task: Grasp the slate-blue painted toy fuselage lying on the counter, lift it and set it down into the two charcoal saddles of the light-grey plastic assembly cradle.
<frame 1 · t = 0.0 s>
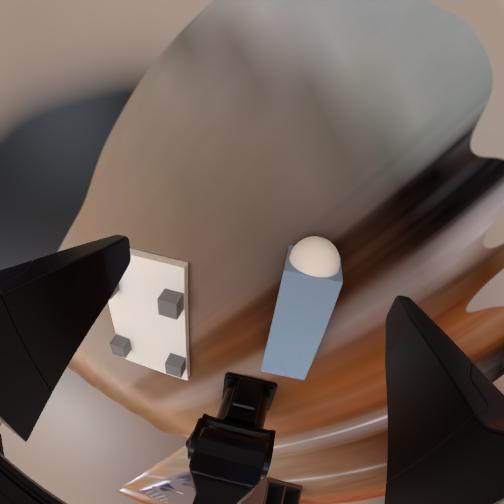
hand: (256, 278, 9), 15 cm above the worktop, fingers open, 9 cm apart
fuselage: (299, 304, 28), on the worktop
letter holder: (265, 486, 60), on the worktop
cradle: (149, 317, 33), on the worktop
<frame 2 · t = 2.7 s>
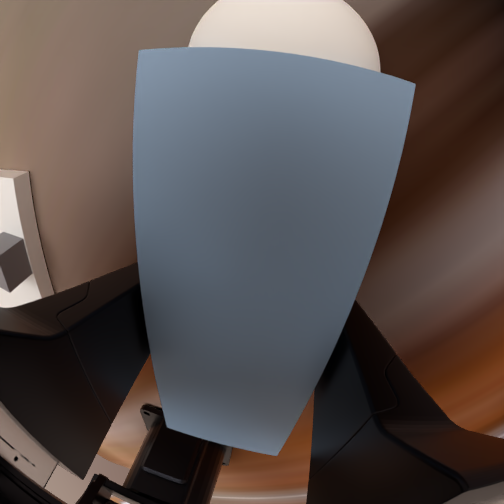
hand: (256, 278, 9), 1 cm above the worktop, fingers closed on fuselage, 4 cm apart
fuselage: (262, 260, 10), on the worktop, touching gripper
cradle: (16, 296, 15), on the worktop
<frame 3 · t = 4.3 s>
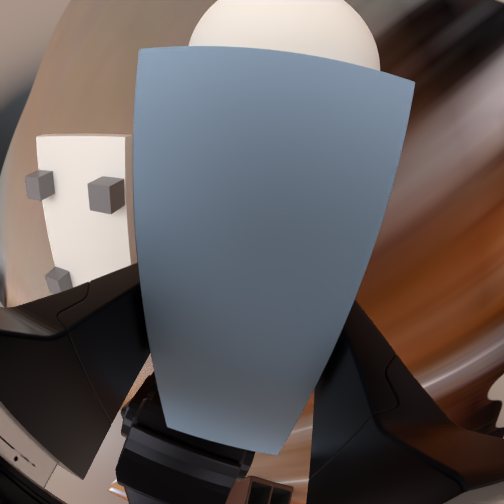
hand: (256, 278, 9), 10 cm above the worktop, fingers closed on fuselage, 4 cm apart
fuselage: (262, 260, 10), point 9 cm above the worktop, touching gripper
letter holder: (250, 486, 50), on the worktop
cradle: (90, 235, 24), on the worktop
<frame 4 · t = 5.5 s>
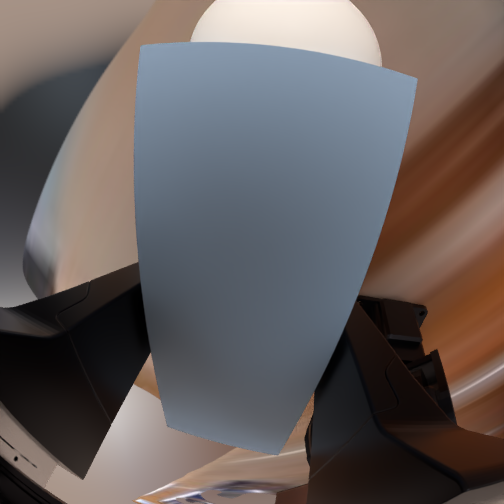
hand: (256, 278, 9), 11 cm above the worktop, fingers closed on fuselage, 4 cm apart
fuselage: (263, 258, 10), point 10 cm above the worktop, touching gripper
letter holder: (320, 487, 46), on the worktop
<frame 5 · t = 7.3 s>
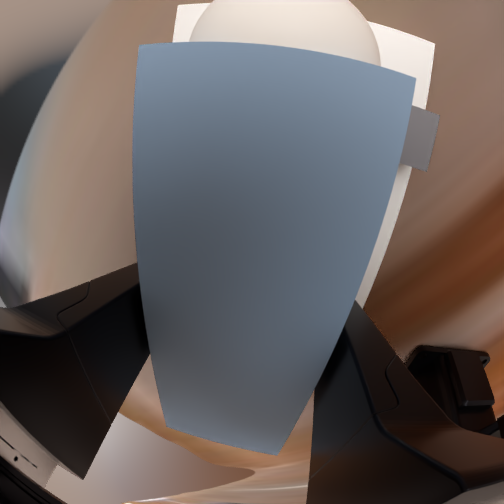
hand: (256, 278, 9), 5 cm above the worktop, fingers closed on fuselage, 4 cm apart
fuselage: (262, 258, 10), point 4 cm above the worktop, touching gripper
cradle: (275, 216, 13), on the worktop
when the fingers open (3 cm above the worktop, at t = 8.6 s): fuselage stays where it is, resting on cradle.
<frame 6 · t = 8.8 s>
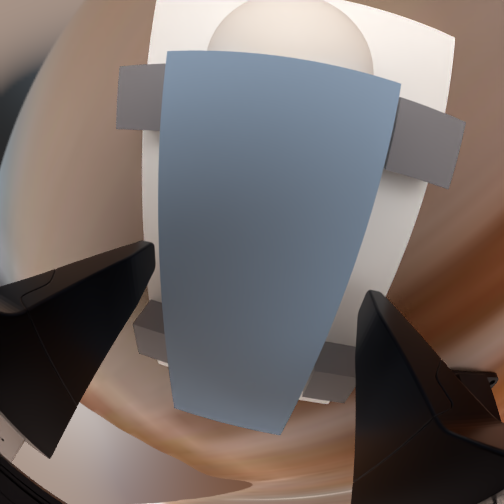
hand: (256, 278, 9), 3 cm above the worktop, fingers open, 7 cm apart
fuselage: (266, 245, 11), point 1 cm above the worktop, touching cradle
cradle: (269, 235, 12), on the worktop
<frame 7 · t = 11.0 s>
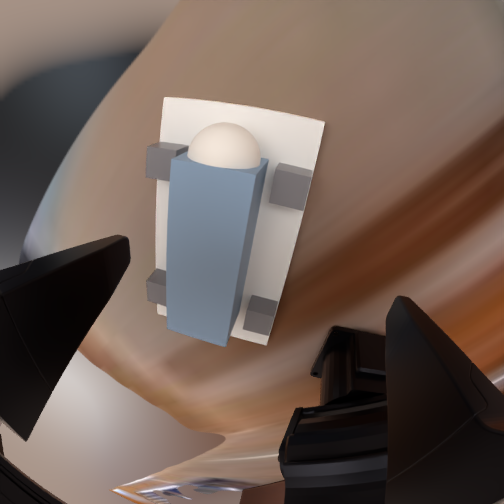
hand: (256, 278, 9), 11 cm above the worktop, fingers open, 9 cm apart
fuselage: (220, 237, 21), point 1 cm above the worktop, touching cradle
letter holder: (284, 488, 49), on the worktop
cradle: (224, 232, 21), on the worktop
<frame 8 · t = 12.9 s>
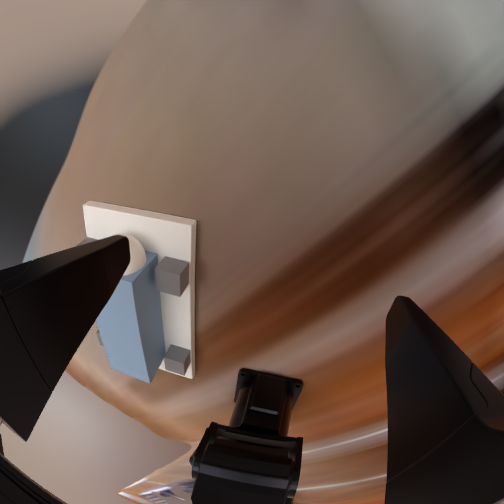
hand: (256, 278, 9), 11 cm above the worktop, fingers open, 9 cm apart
fuselage: (140, 305, 26), point 1 cm above the worktop, touching cradle
cradle: (144, 299, 26), on the worktop
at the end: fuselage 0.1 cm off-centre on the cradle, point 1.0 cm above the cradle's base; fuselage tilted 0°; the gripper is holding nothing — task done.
